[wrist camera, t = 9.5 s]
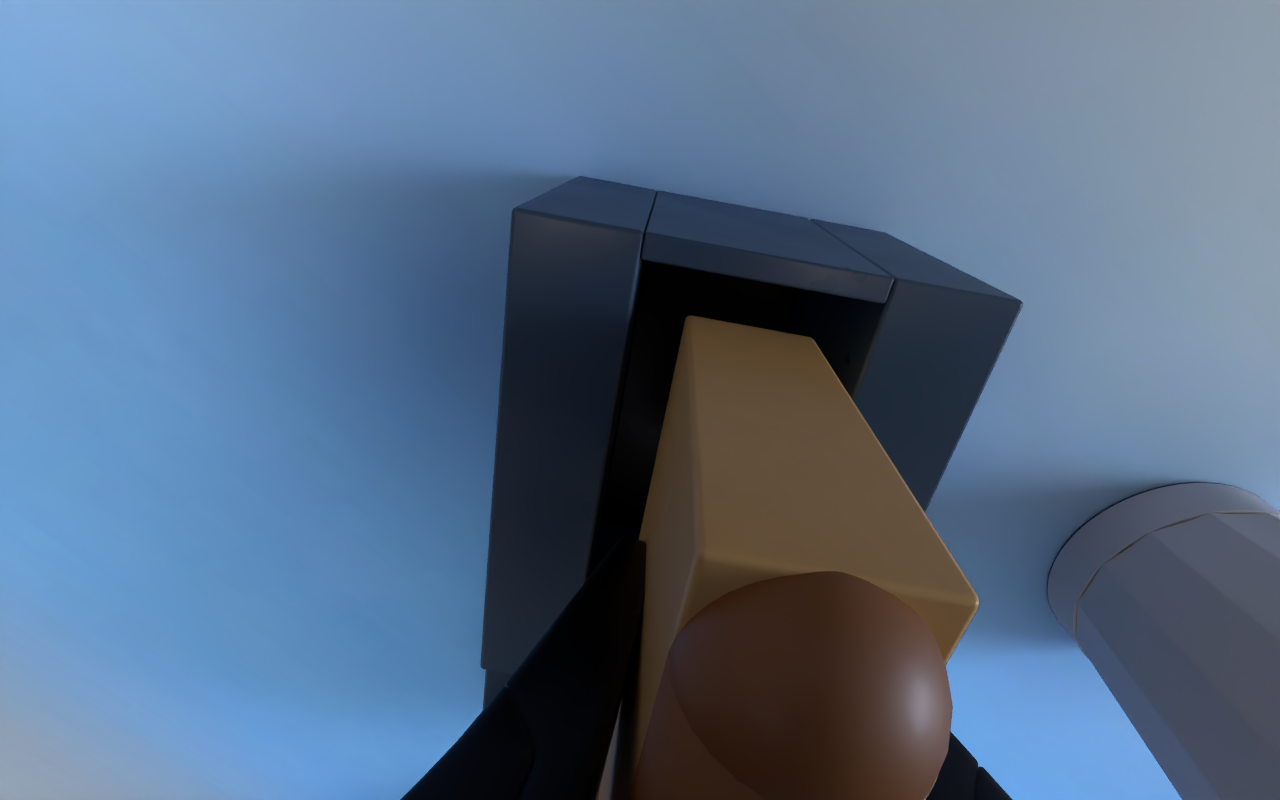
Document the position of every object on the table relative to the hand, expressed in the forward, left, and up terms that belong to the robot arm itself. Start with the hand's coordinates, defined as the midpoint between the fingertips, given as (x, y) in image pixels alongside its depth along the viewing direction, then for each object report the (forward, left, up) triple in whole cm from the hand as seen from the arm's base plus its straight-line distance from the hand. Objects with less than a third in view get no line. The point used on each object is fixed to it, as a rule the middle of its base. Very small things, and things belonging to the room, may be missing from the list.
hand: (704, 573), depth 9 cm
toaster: (0, 0, -7) cm, 7 cm away
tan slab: (0, 0, -2) cm, 2 cm away
